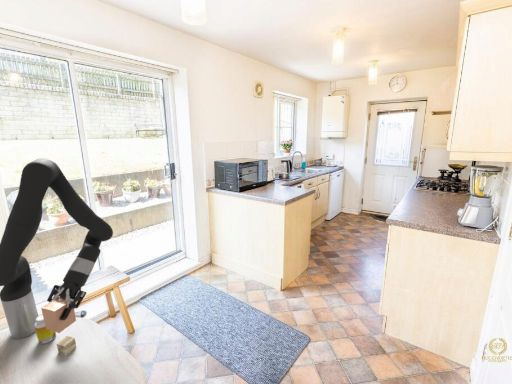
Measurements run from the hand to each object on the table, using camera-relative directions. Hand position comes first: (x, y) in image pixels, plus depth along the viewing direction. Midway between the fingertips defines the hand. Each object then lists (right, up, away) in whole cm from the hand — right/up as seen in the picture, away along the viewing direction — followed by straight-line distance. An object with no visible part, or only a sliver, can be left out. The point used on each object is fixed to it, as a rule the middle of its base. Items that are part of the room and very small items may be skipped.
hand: (54, 317), depth 92 cm
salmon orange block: (0, -4, +3) cm, 5 cm away
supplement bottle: (-11, -14, +10) cm, 20 cm away
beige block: (+1, -15, +5) cm, 16 cm away
